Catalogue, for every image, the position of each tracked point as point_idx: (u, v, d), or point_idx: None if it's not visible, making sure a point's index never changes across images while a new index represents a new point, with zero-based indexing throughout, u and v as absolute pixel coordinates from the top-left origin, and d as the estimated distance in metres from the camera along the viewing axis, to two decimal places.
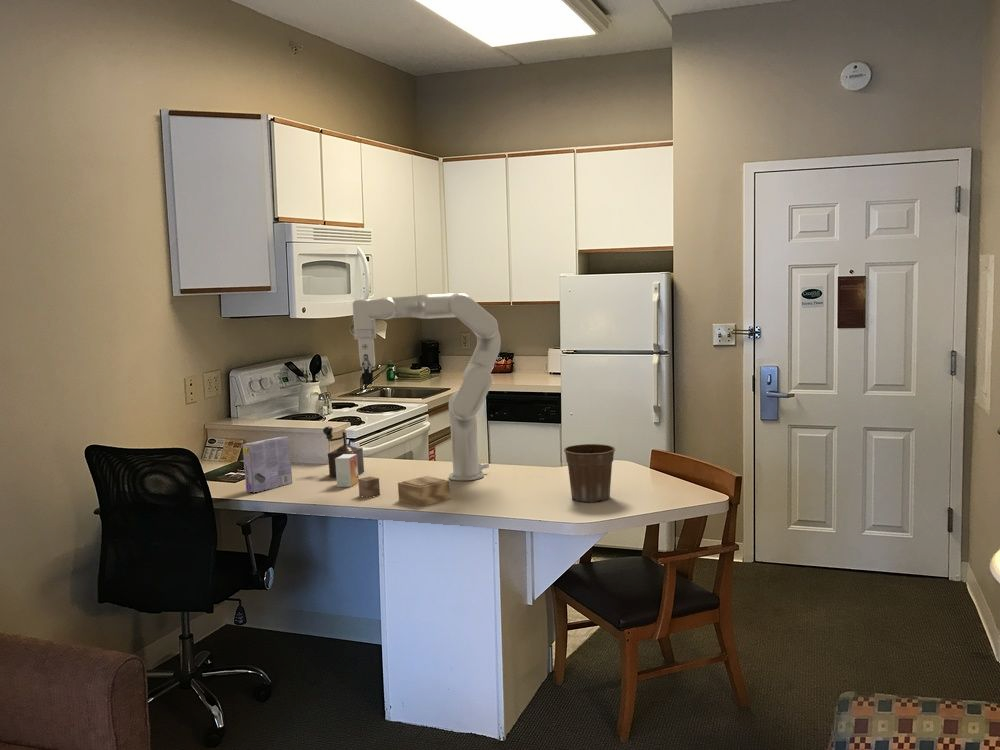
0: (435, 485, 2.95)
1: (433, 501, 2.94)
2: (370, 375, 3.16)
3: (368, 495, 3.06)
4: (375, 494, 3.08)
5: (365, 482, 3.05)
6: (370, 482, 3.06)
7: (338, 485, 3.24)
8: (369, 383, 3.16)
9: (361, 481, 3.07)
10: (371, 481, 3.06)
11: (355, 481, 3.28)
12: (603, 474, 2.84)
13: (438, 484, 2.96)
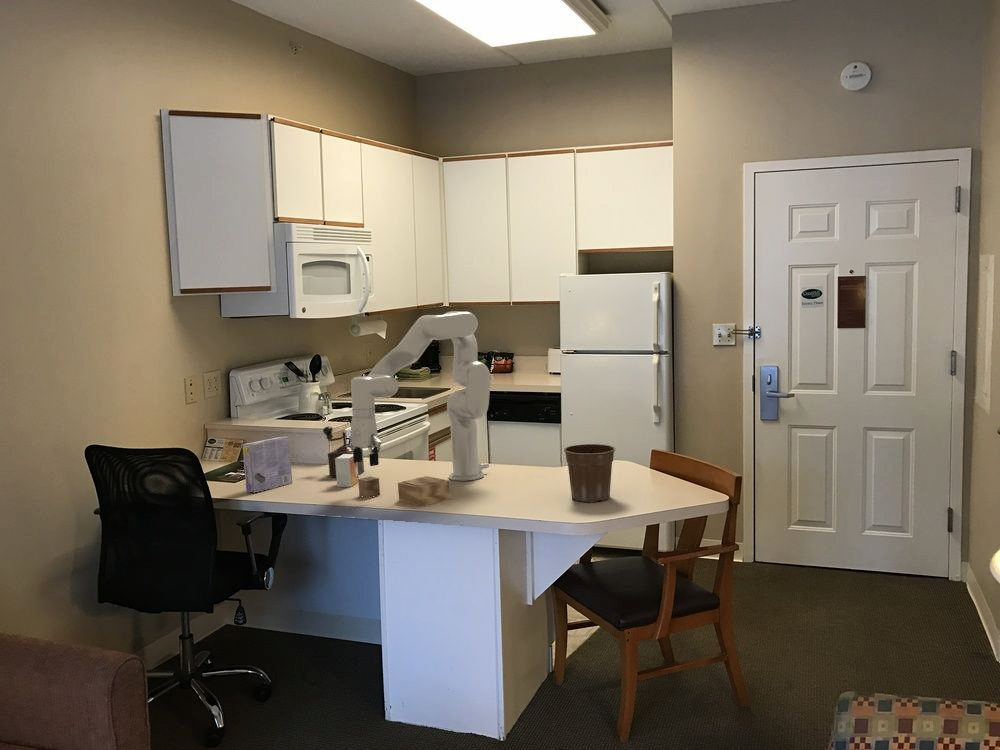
0: (435, 485, 2.95)
1: (433, 501, 2.94)
2: None
3: (368, 495, 3.06)
4: (375, 494, 3.08)
5: (365, 482, 3.05)
6: (370, 482, 3.06)
7: (338, 485, 3.24)
8: None
9: (361, 481, 3.07)
10: (371, 481, 3.06)
11: (355, 481, 3.28)
12: (603, 474, 2.84)
13: (438, 484, 2.96)
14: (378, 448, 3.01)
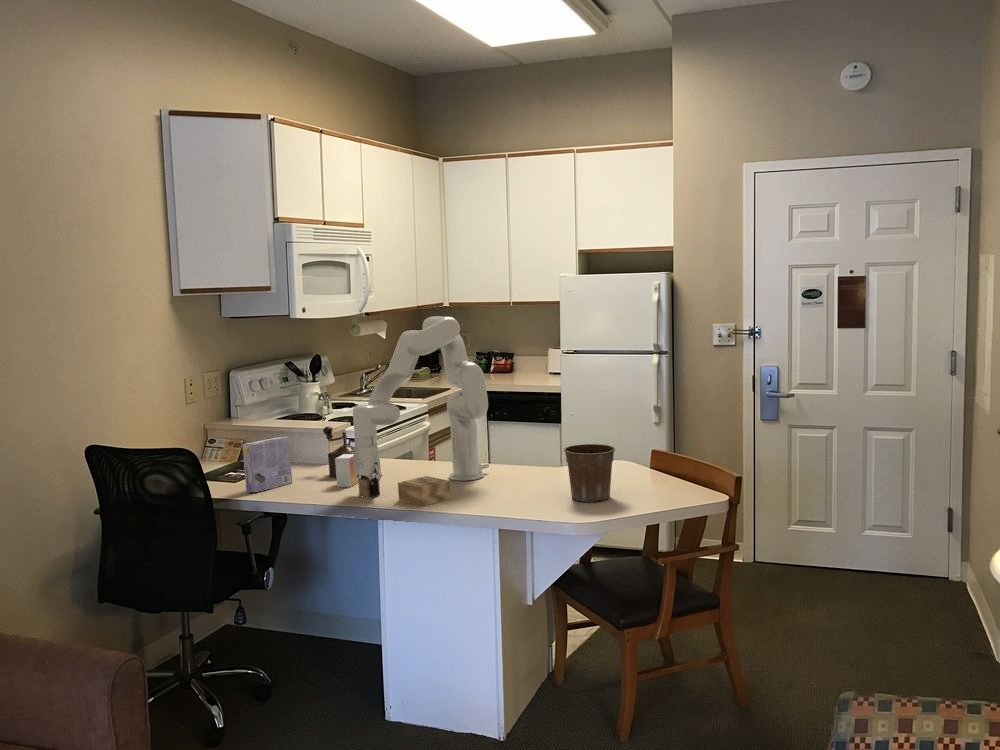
0: (435, 485, 2.95)
1: (433, 501, 2.94)
2: None
3: (368, 495, 3.06)
4: None
5: (365, 482, 3.05)
6: None
7: (338, 485, 3.24)
8: None
9: (361, 481, 3.07)
10: None
11: (355, 481, 3.28)
12: (603, 474, 2.84)
13: (438, 484, 2.96)
14: (378, 479, 3.04)
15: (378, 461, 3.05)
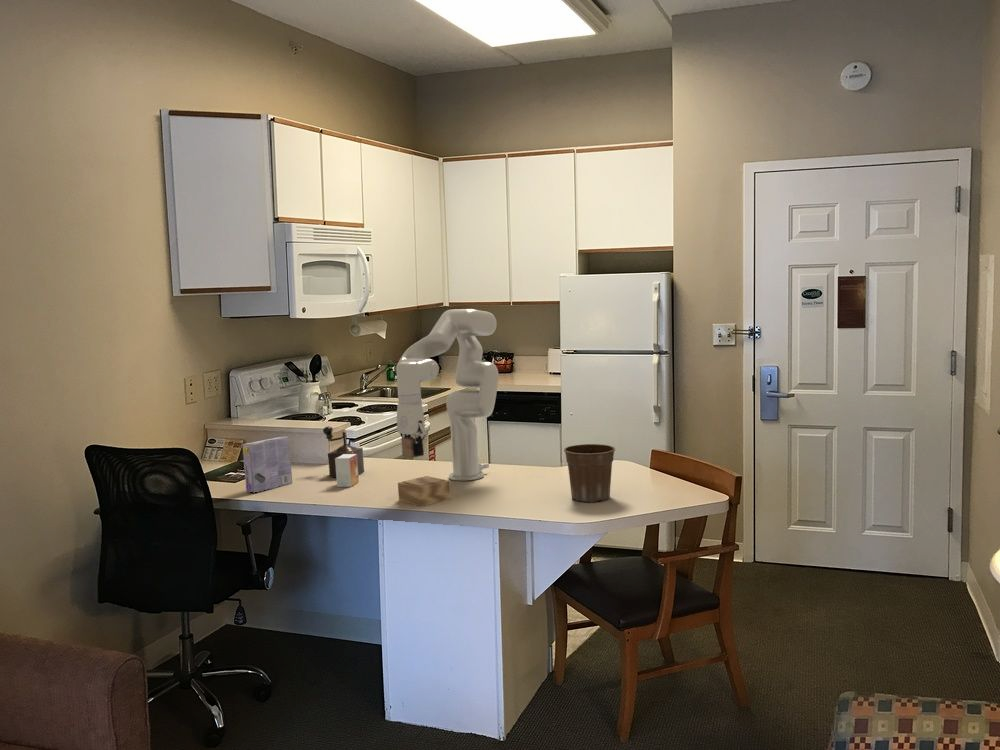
0: (435, 485, 2.95)
1: (433, 501, 2.94)
2: None
3: (412, 454, 2.96)
4: None
5: (408, 441, 2.96)
6: None
7: (338, 485, 3.24)
8: None
9: (404, 440, 2.98)
10: None
11: (355, 481, 3.28)
12: (603, 474, 2.84)
13: (438, 484, 2.96)
14: (422, 438, 2.95)
15: (422, 419, 2.95)
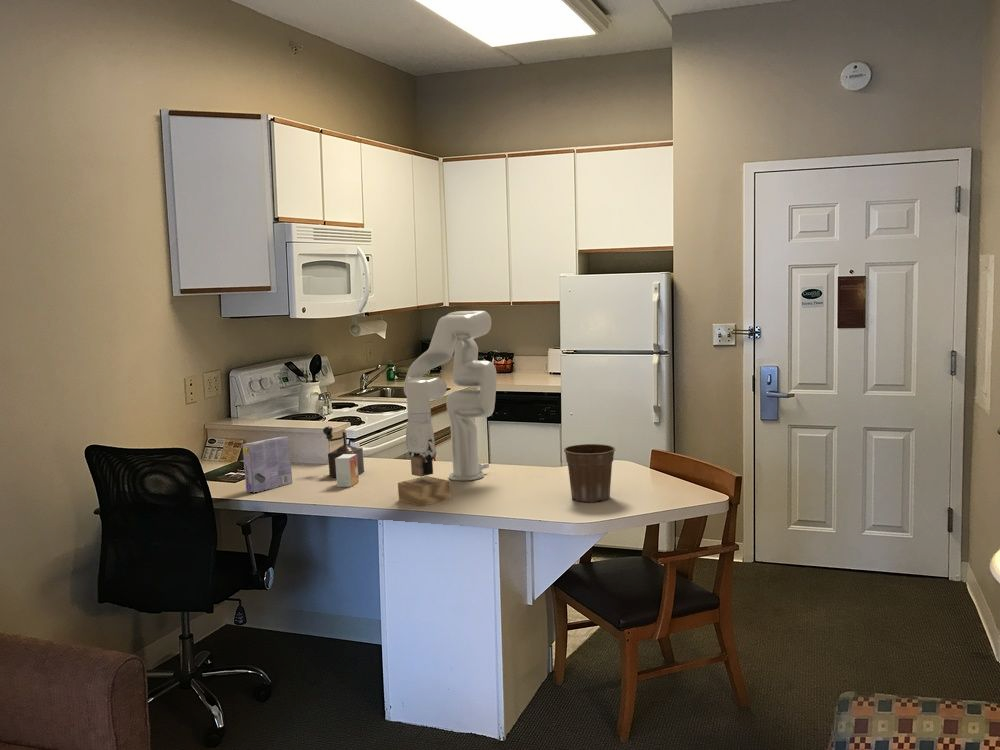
0: (435, 485, 2.95)
1: (433, 501, 2.94)
2: None
3: (421, 473, 2.95)
4: None
5: (418, 460, 2.95)
6: (423, 460, 2.95)
7: (338, 485, 3.24)
8: None
9: (414, 459, 2.97)
10: None
11: (355, 481, 3.28)
12: (603, 474, 2.84)
13: (438, 484, 2.96)
14: (432, 457, 2.94)
15: (432, 438, 2.94)
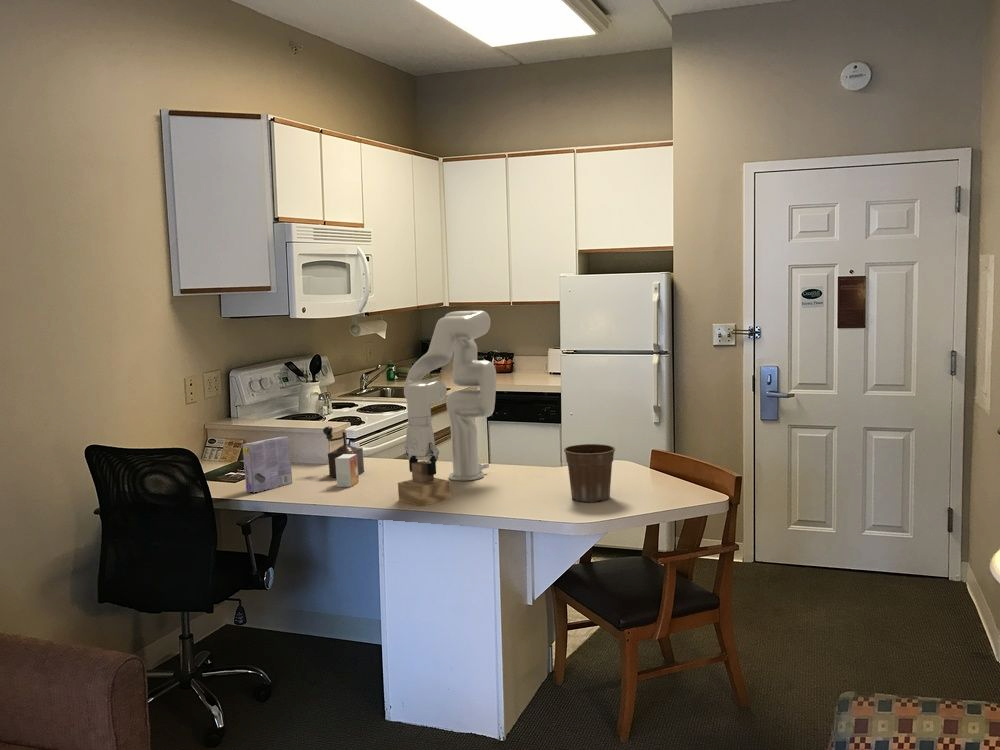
0: (435, 485, 2.95)
1: (433, 501, 2.94)
2: None
3: (422, 480, 2.96)
4: (429, 479, 2.97)
5: (419, 466, 2.95)
6: (424, 466, 2.96)
7: (338, 485, 3.24)
8: None
9: (415, 465, 2.97)
10: (425, 465, 2.96)
11: (355, 481, 3.28)
12: (603, 474, 2.84)
13: (438, 484, 2.96)
14: (436, 457, 2.92)
15: (433, 441, 2.95)
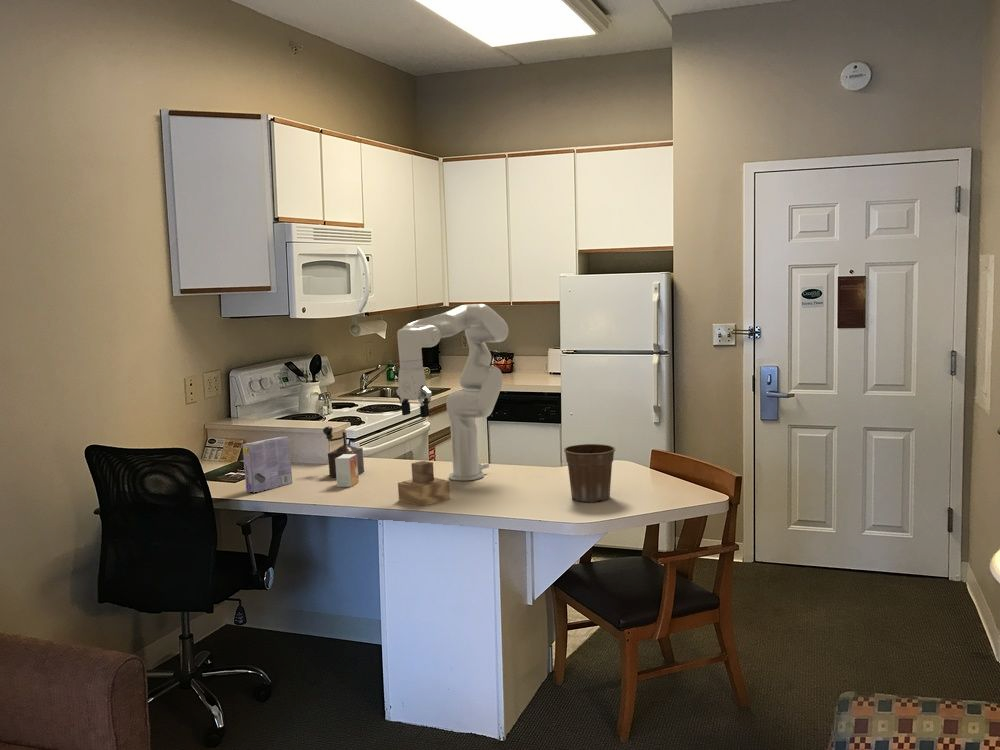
0: (435, 485, 2.95)
1: (433, 501, 2.94)
2: None
3: (422, 480, 2.96)
4: (429, 479, 2.97)
5: (419, 466, 2.95)
6: (424, 466, 2.96)
7: (338, 485, 3.24)
8: None
9: (415, 465, 2.97)
10: (425, 465, 2.96)
11: (355, 481, 3.28)
12: (603, 474, 2.84)
13: (438, 484, 2.96)
14: (429, 399, 2.98)
15: (425, 384, 3.00)
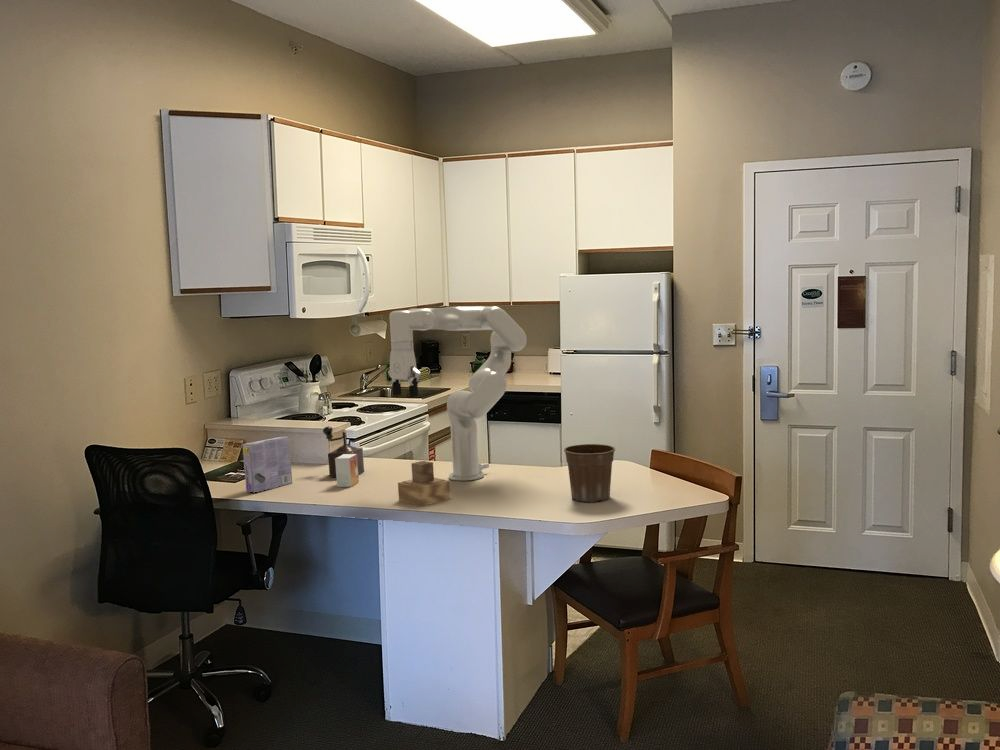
0: (435, 485, 2.95)
1: (433, 501, 2.94)
2: None
3: (422, 480, 2.96)
4: (429, 479, 2.97)
5: (419, 466, 2.95)
6: (424, 466, 2.96)
7: (338, 485, 3.24)
8: None
9: (415, 465, 2.97)
10: (425, 465, 2.96)
11: (355, 481, 3.28)
12: (603, 474, 2.84)
13: (438, 484, 2.96)
14: (418, 379, 3.08)
15: (414, 365, 3.11)
